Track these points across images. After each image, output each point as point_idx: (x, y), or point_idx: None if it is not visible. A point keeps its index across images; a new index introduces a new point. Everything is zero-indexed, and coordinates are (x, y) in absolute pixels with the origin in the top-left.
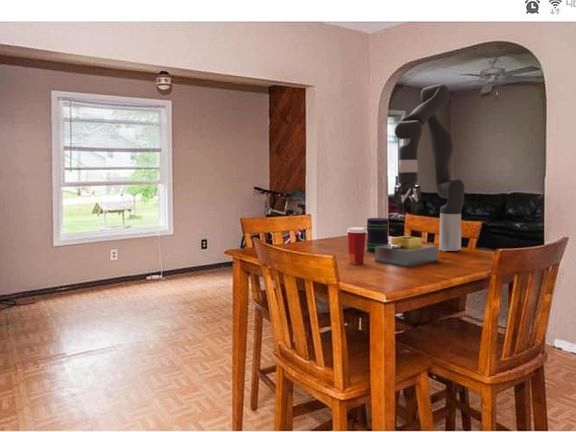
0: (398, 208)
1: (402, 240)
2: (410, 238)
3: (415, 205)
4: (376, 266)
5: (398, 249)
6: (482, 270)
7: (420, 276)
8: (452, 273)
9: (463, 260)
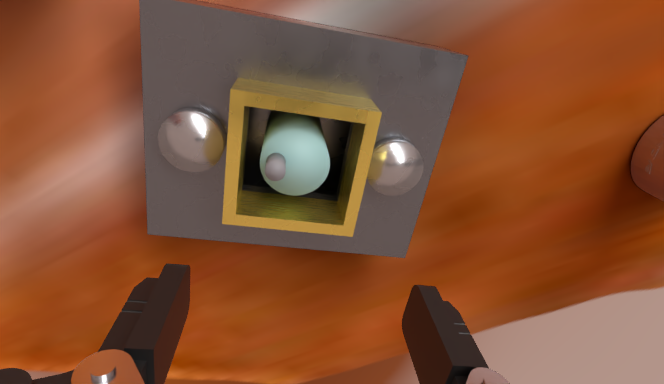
0: (128, 306)
1: (226, 177)
2: (355, 163)
3: (416, 372)
4: (58, 87)
5: (165, 172)
6: (316, 372)
7: (69, 302)
8: (203, 341)
9: (453, 279)
